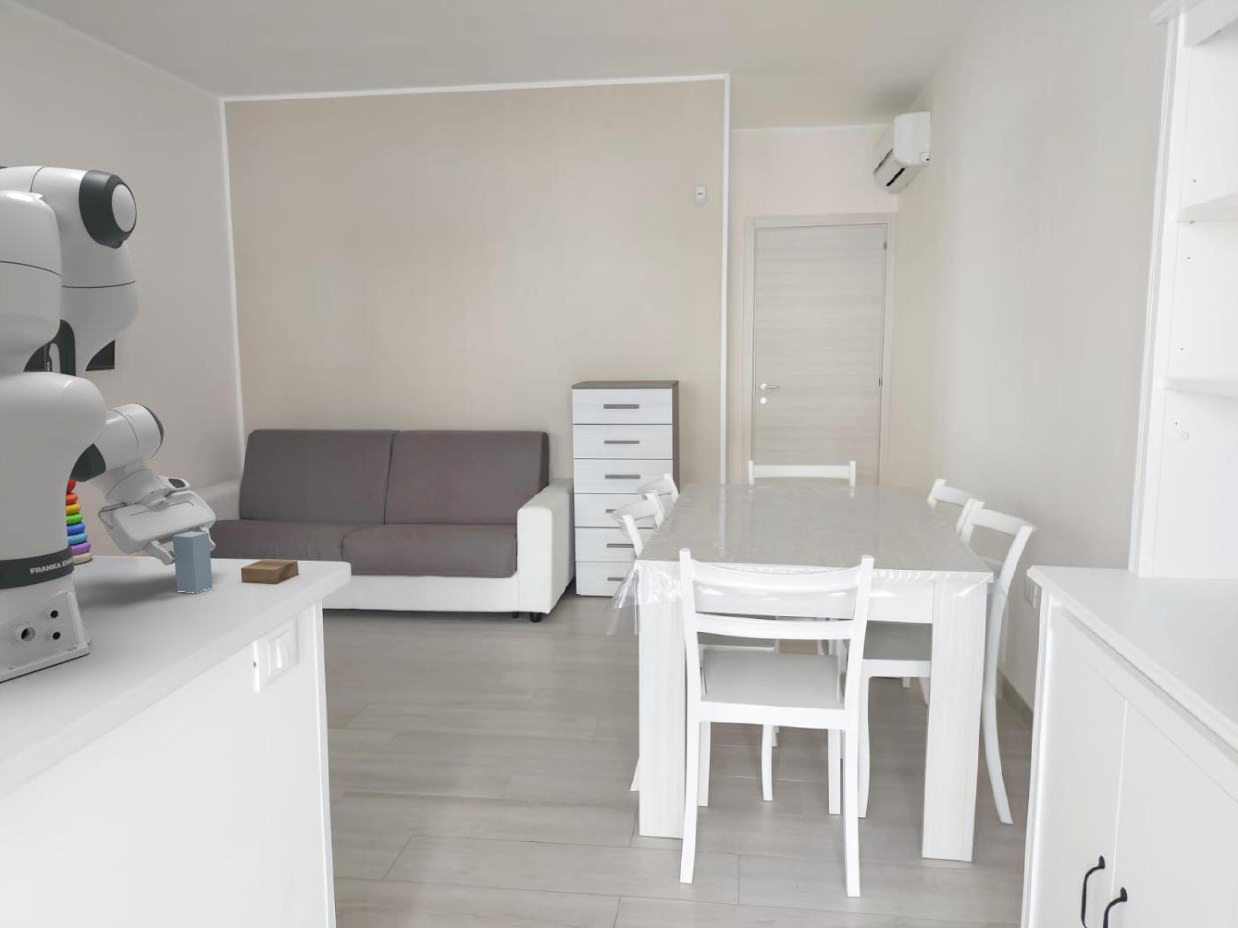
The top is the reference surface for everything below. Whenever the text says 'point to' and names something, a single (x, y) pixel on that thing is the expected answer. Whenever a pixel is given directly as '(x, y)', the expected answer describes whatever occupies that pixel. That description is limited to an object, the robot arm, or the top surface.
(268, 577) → the base block
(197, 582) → the pillar
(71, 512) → the stacking toy
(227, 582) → the top surface
